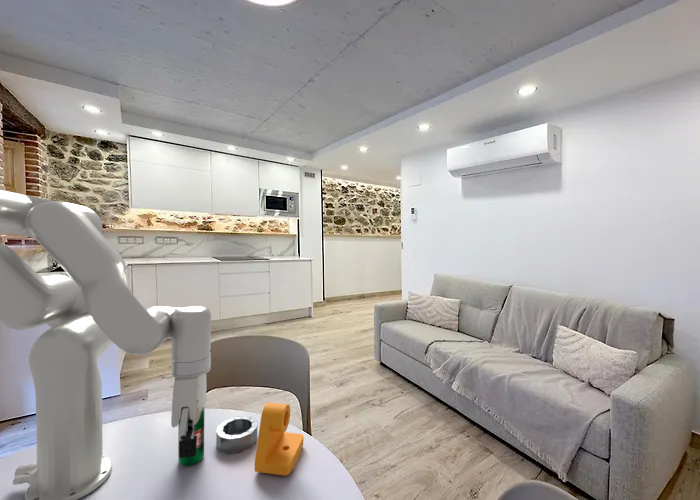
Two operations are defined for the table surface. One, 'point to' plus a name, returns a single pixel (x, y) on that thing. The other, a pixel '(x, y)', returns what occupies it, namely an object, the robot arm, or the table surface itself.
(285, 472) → the bracket
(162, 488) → the table surface
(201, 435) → the soda can
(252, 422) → the rosette ring
